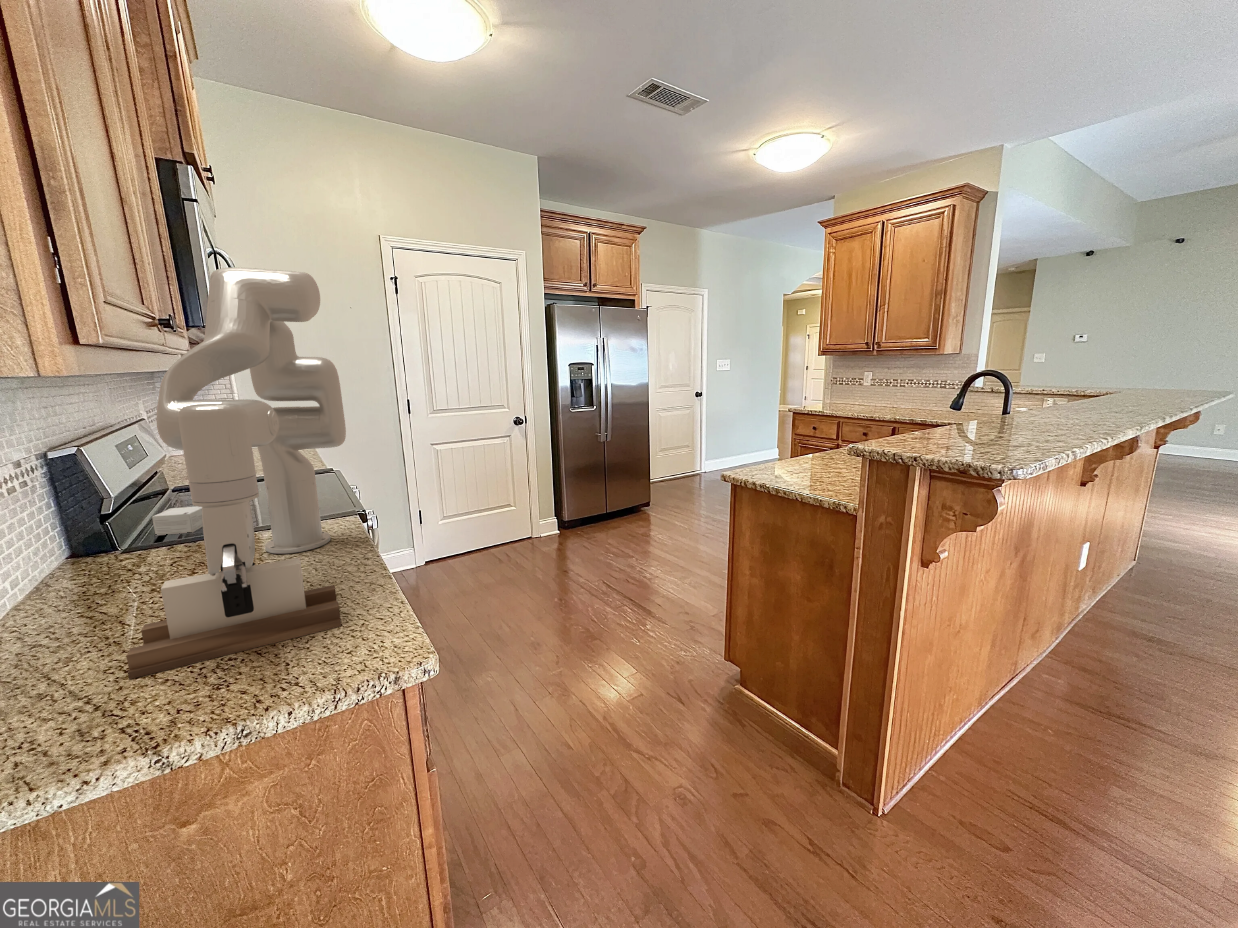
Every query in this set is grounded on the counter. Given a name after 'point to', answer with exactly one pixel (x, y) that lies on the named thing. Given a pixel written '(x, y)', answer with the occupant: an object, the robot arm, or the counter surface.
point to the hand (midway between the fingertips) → (242, 600)
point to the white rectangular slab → (201, 602)
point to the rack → (231, 635)
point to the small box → (178, 520)
